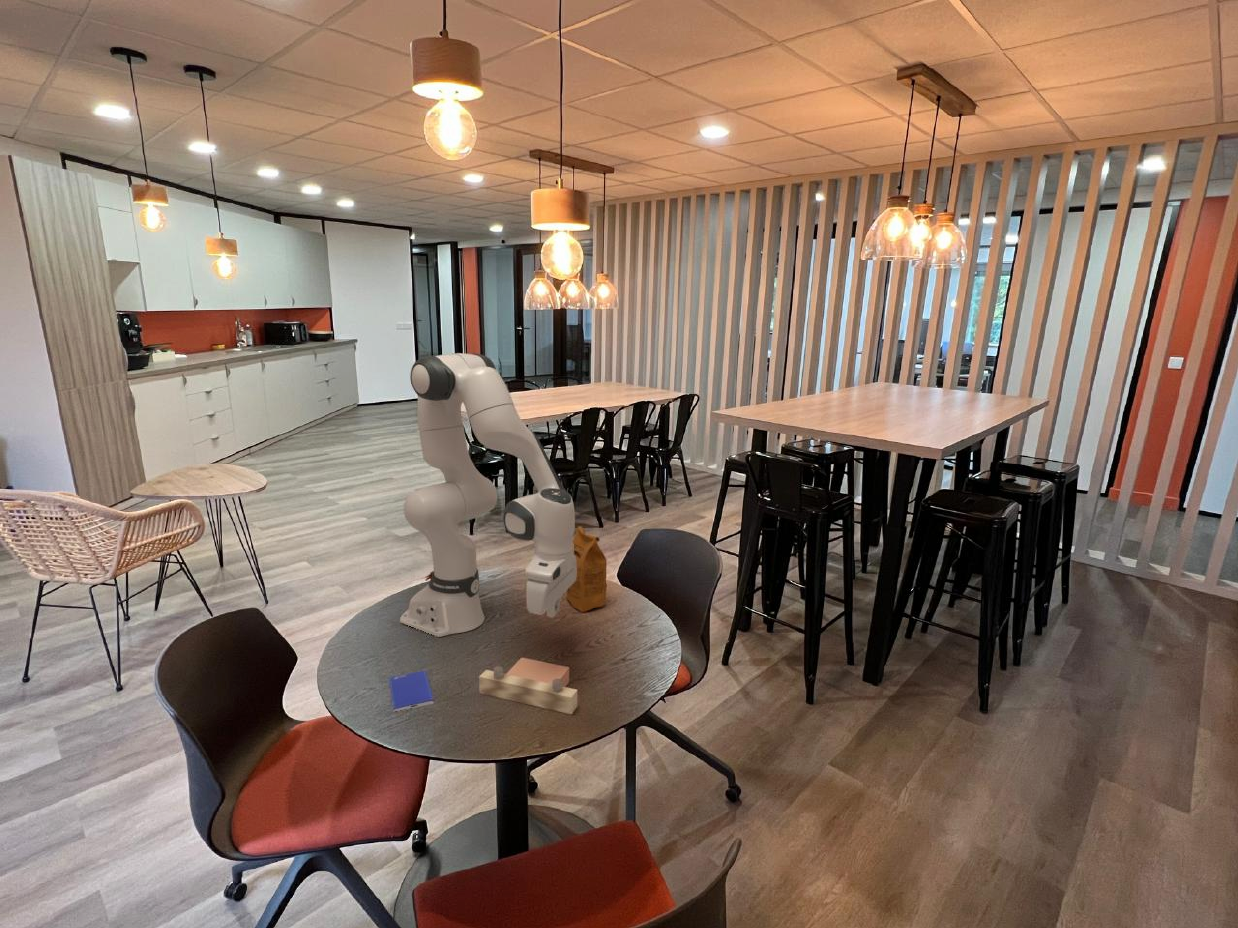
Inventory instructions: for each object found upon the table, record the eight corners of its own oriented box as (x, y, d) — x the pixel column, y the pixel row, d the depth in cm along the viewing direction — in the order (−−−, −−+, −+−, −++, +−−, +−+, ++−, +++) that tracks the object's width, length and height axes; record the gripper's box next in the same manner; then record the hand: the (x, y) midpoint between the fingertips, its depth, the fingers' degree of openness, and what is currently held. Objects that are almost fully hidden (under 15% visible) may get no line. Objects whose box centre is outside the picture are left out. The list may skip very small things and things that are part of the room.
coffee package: (592, 591, 191) (592, 522, 186) (610, 608, 180) (611, 535, 175) (561, 597, 187) (561, 526, 182) (578, 614, 176) (578, 540, 171)
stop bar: (479, 692, 139) (478, 668, 137) (486, 685, 142) (485, 661, 140) (571, 714, 132) (571, 688, 131) (577, 706, 135) (577, 681, 133)
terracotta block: (505, 691, 140) (504, 675, 139) (521, 672, 148) (521, 657, 147) (554, 702, 137) (554, 686, 136) (569, 683, 144) (569, 667, 143)
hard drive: (388, 677, 142) (393, 708, 131) (425, 669, 146) (433, 699, 135) (388, 683, 143) (394, 714, 132) (426, 675, 146) (434, 705, 135)
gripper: (560, 541, 155) (558, 593, 158) (521, 574, 136) (520, 631, 139) (584, 546, 153) (582, 598, 156) (547, 579, 134) (546, 637, 137)
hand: (552, 614), depth 148 cm, fingers closed
